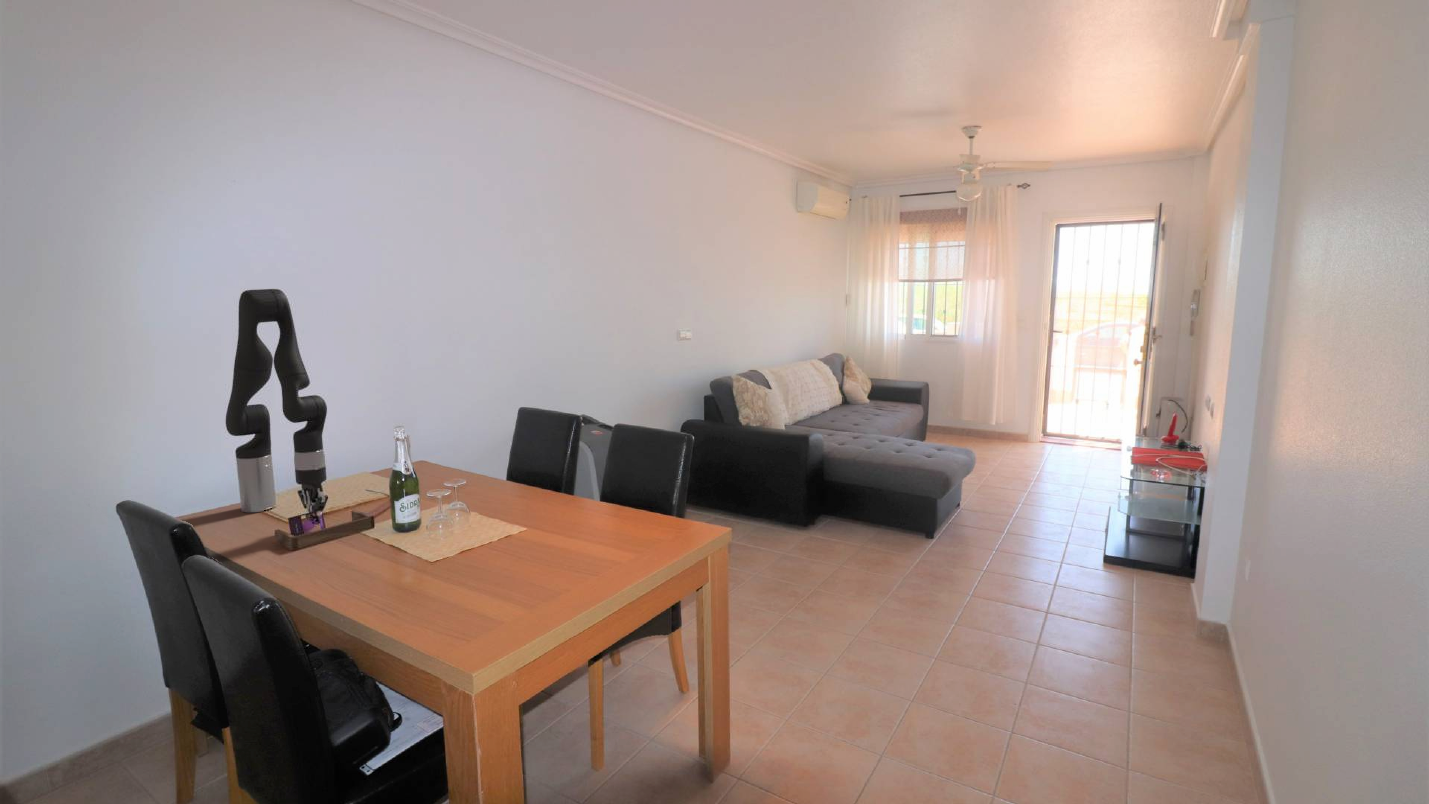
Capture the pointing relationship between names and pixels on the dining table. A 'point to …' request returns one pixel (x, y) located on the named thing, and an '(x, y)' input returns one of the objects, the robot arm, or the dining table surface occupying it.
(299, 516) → the purple printed carton
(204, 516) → the dining table surface
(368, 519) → the tray
